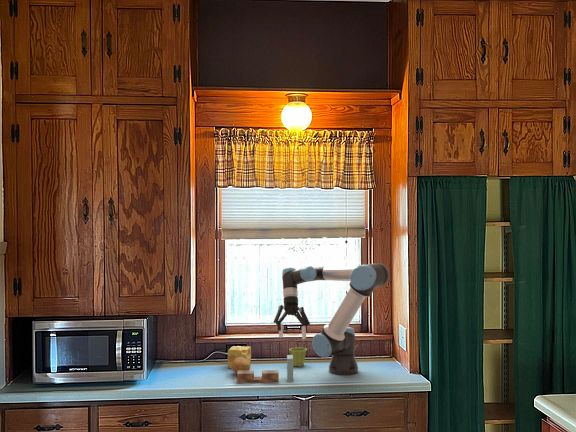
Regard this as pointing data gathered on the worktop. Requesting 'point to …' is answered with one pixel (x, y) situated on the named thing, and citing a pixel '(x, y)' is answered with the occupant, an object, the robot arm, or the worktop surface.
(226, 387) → the worktop surface
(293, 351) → the plant pot
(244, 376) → the brown wooden u-shaped block
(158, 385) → the worktop surface
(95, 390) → the worktop surface
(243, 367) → the potato
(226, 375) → the worktop surface
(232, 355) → the cheese
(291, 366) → the grey upright block
